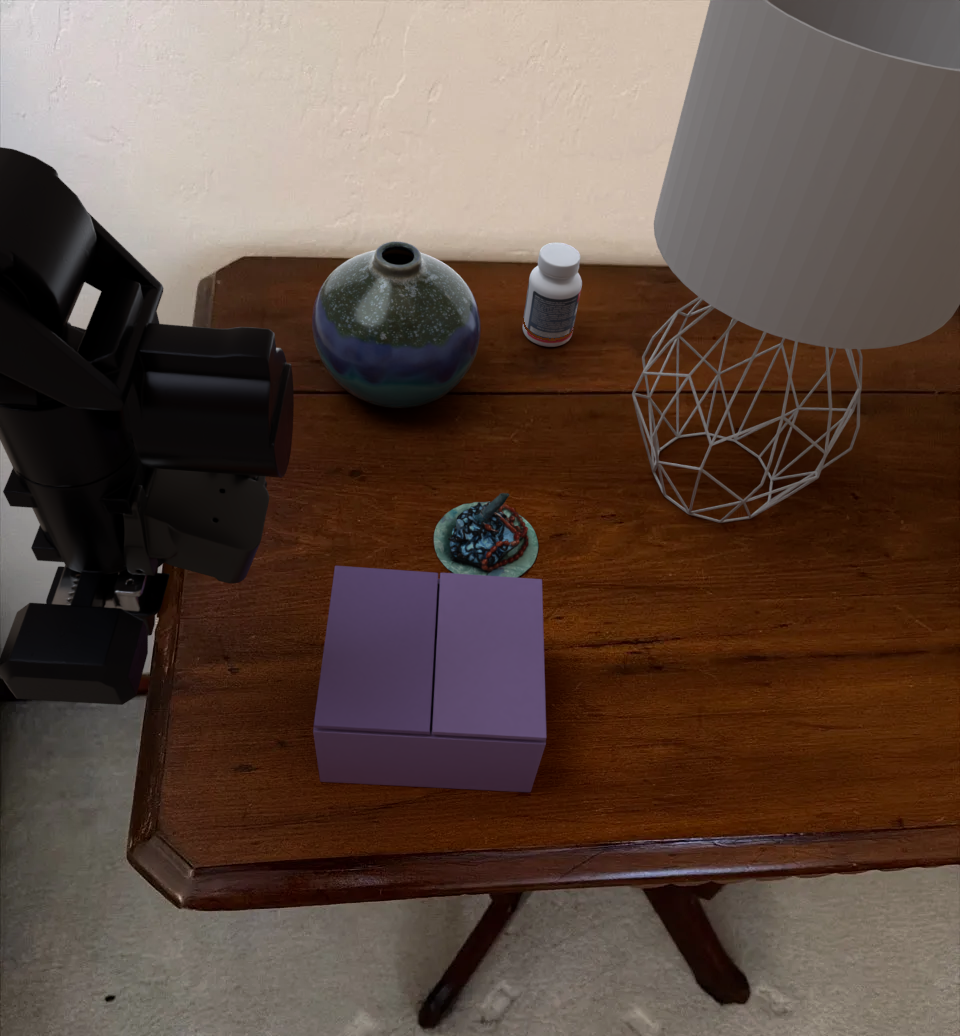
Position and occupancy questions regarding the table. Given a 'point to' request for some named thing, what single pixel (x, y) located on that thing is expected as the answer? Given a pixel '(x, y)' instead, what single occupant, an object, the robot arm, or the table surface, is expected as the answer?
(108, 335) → the robot arm
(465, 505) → the dish
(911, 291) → the table lamp
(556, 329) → the pill bottle
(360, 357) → the vase
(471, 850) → the table surface
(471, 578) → the file box
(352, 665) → the flap
